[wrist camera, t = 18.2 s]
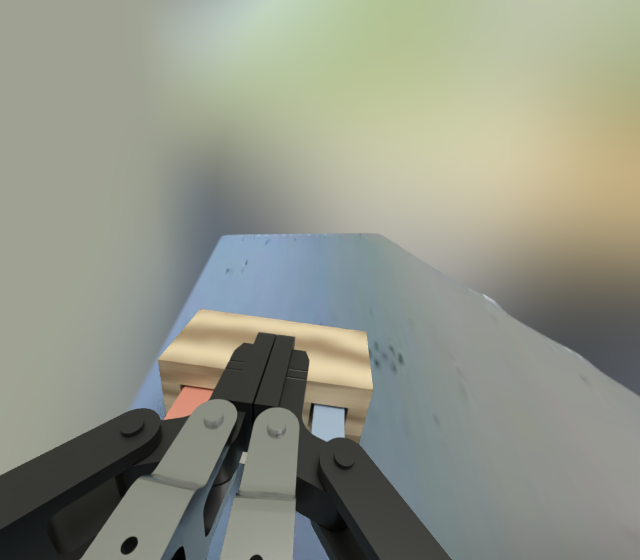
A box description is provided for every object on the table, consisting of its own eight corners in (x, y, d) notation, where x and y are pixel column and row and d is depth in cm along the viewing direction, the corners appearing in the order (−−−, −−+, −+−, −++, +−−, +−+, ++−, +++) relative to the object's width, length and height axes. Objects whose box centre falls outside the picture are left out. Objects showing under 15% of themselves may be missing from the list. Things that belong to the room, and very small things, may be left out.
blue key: (339, 477, 28) (344, 455, 27) (306, 472, 28) (309, 450, 27) (340, 389, 38) (344, 370, 37) (315, 386, 38) (318, 367, 37)
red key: (193, 457, 28) (191, 434, 27) (160, 452, 28) (156, 429, 27) (232, 375, 38) (232, 355, 37) (207, 371, 38) (206, 351, 37)
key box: (350, 475, 36) (373, 389, 30) (171, 449, 36) (157, 359, 30) (348, 407, 45) (366, 331, 39) (205, 387, 45) (200, 308, 39)
